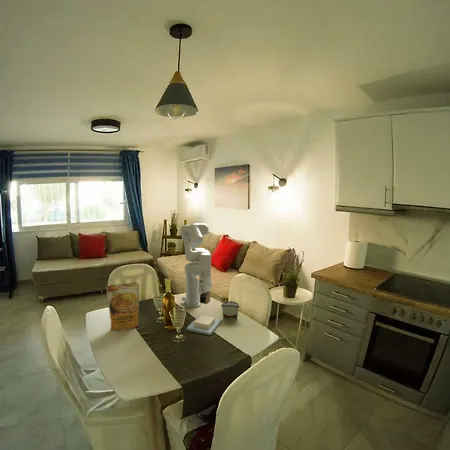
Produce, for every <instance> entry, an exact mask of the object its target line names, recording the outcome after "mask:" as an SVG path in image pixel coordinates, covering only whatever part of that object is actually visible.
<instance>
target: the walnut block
mask: <svg viewBox="0 0 450 450" xmlns="http://www.w3.org/2000/svg"><path fill="white" fill-rule="evenodd" d="M202 294H204V293H202ZM210 302H211V291H209V292H206V293H205V303H201V302H200V303H201V304H204V305H208V304H209V303H210Z"/></svg>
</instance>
